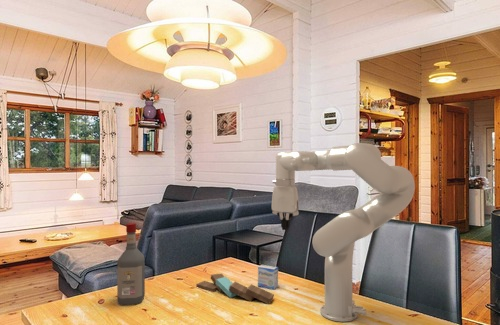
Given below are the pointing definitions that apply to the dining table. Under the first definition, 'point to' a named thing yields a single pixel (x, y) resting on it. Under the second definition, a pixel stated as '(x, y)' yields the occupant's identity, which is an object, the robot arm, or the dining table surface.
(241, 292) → the domino
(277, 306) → the dining table surface
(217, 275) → the domino
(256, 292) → the domino
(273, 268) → the medicine box
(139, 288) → the liquor
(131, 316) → the dining table surface
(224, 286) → the domino
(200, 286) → the domino
